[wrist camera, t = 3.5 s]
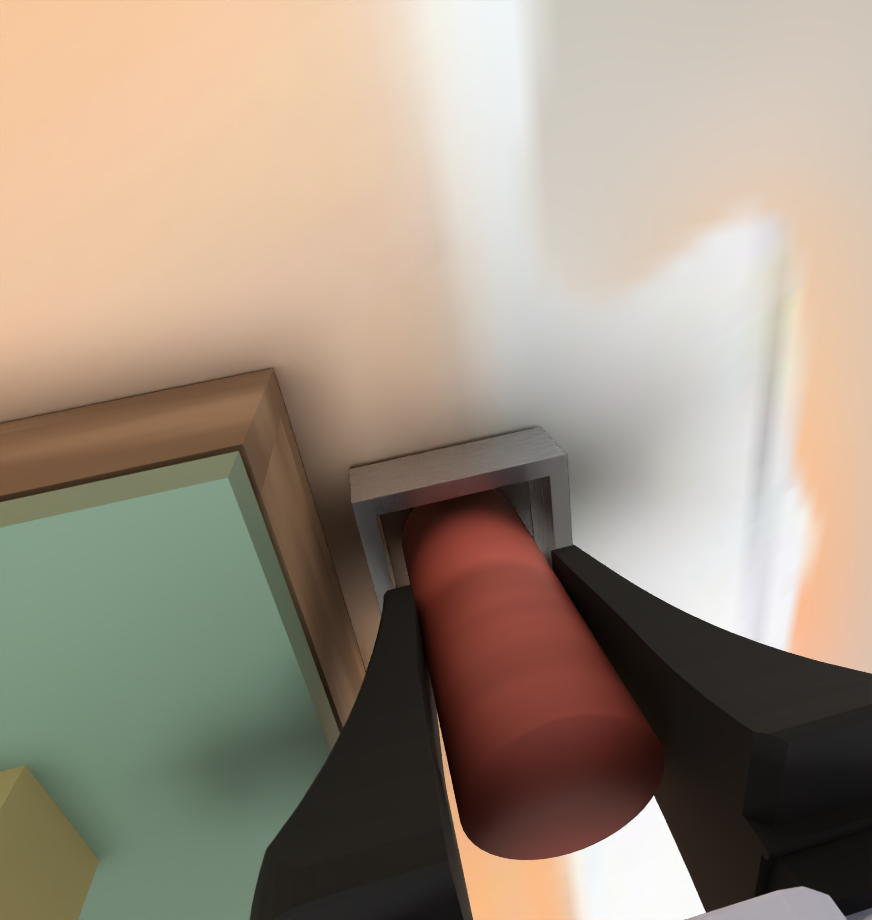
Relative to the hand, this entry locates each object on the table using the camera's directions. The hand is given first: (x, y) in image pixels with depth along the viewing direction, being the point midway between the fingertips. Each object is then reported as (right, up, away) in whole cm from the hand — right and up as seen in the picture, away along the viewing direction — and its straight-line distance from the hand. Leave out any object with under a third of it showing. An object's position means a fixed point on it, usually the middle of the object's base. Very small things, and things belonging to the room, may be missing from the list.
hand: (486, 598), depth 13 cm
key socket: (-1, +1, +3) cm, 3 cm away
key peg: (-1, +1, +3) cm, 3 cm away
